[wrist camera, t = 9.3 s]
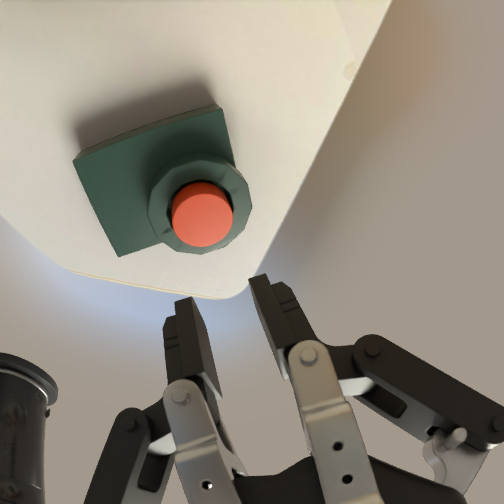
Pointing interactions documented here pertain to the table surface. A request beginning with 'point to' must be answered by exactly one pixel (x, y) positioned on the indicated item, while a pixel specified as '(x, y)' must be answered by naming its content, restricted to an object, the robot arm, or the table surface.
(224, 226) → the button
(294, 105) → the table surface
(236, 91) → the table surface
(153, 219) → the button block
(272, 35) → the table surface
